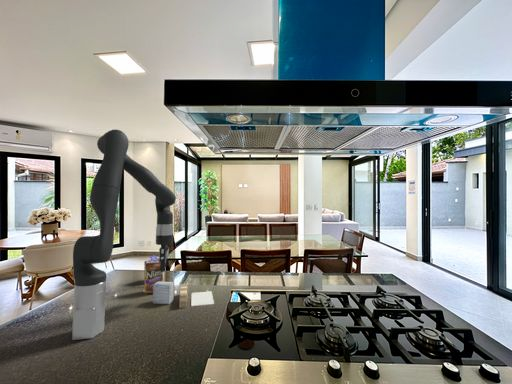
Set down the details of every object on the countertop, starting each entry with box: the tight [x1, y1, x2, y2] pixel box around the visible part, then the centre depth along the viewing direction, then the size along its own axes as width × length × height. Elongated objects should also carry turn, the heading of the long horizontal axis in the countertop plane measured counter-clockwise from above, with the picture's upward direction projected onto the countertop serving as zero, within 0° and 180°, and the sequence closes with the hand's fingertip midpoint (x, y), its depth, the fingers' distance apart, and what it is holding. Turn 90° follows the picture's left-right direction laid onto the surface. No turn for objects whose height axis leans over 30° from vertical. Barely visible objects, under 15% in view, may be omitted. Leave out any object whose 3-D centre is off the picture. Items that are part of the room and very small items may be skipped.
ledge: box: [178, 283, 189, 309], centre depth 114 cm, size 16×3×5 cm, turn 14°
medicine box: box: [152, 281, 175, 305], centre depth 111 cm, size 8×4×9 cm, turn 84°
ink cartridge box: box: [143, 254, 163, 283], centre depth 142 cm, size 10×6×14 cm, turn 148°
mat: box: [190, 291, 215, 308], centre depth 116 cm, size 16×10×1 cm, turn 14°
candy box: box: [143, 260, 166, 294], centre depth 125 cm, size 9×4×15 cm, turn 98°
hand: (163, 268), depth 112 cm, fingers open, 8 cm apart
